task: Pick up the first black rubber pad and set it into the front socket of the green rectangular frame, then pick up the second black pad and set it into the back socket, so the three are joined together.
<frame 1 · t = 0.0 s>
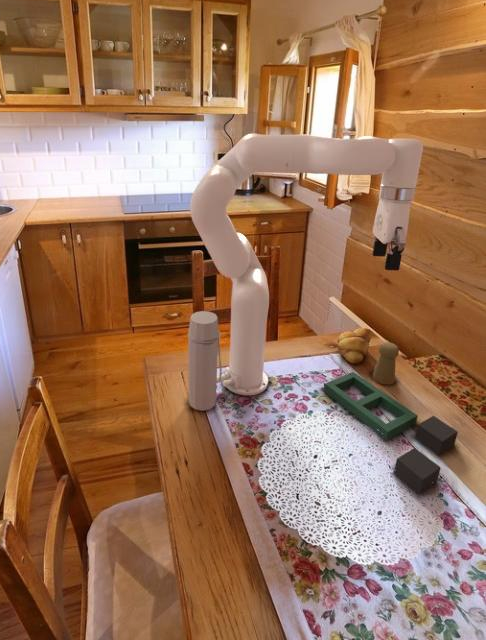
hand: (384, 262, 100), 37 cm above the table, tool pointing down, fingers open, 9 cm apart
water bottle: (205, 402, 106), on the table
pepper mill: (383, 378, 117), on the table
pad b: (434, 441, 95), on the table
bread roll: (351, 355, 128), on the table
pad a: (415, 477, 85), on the table
green rectangular frame: (367, 406, 106), on the table
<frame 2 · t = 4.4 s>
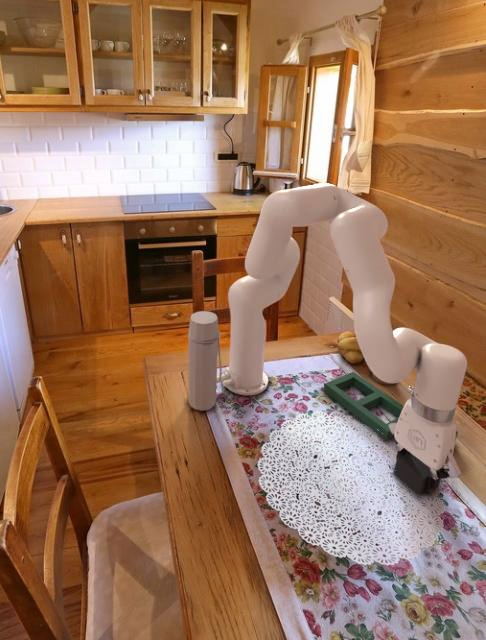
hand: (415, 475, 85), 1 cm above the table, tool pointing down, fingers closed on pad a, 6 cm apart
pad a: (415, 477, 85), on the table, touching gripper
everything else where it was.
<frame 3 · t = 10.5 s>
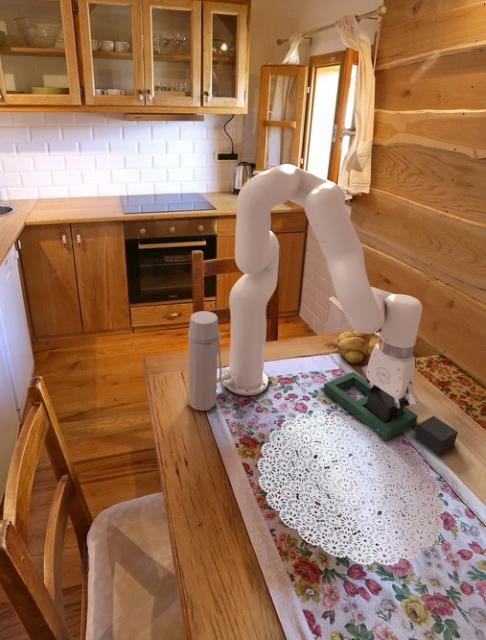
hand: (383, 408, 101), 3 cm above the table, tool pointing down, fingers closed on pad a, 6 cm apart
pad a: (383, 410, 101), point 2 cm above the table, touching gripper
everything else where it was.
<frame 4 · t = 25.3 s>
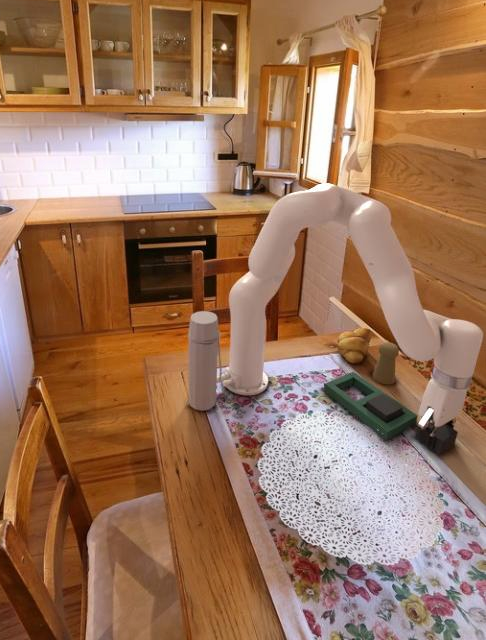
hand: (434, 439, 94), 1 cm above the table, tool pointing down, fingers closed on pad b, 6 cm apart
pad b: (434, 441, 95), on the table, touching gripper
pad a: (381, 417, 102), resting in green rectangular frame
everything else where it was.
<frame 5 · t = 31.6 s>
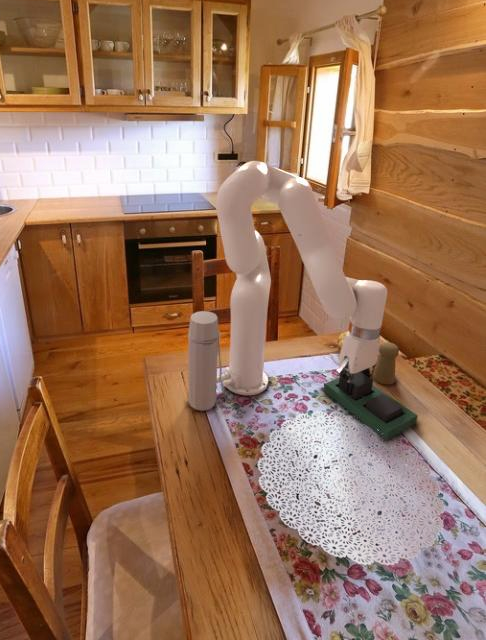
hand: (354, 387, 108), 3 cm above the table, tool pointing down, fingers closed on pad b, 6 cm apart
pad b: (354, 389, 109), point 2 cm above the table, touching gripper
everything else where it was.
when the fingers open (4 cm above the table, at t = 40.6 s): pad b drops 3 cm, resting in green rectangular frame.
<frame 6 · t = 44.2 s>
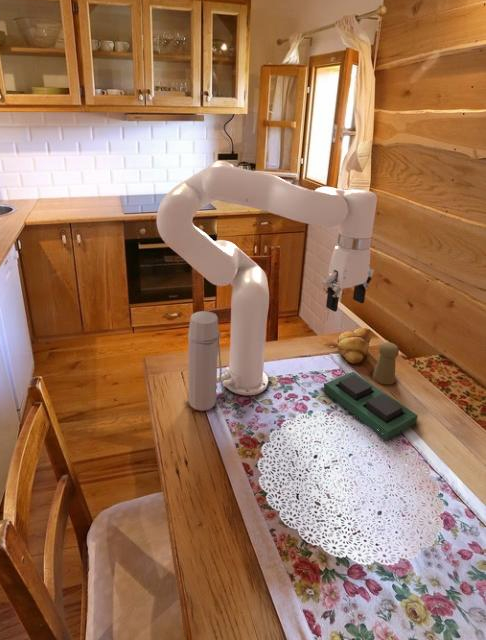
hand: (345, 305, 104), 25 cm above the table, tool pointing down, fingers open, 9 cm apart
pad b: (353, 396, 109), resting in green rectangular frame
everything else where it was.
at the end: pad a 0.1 cm from the target spot in the green rectangular frame, point 0.0 cm above the green rectangular frame's base; pad b 0.1 cm from the target spot in the green rectangular frame, point 0.0 cm above the green rectangular frame's base; pad b tilted 0° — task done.
